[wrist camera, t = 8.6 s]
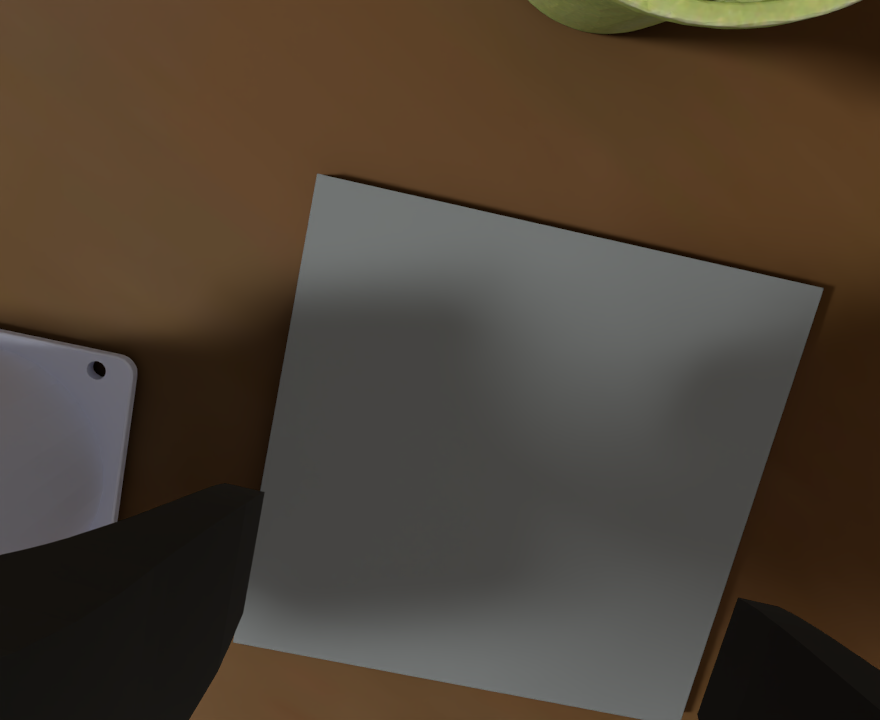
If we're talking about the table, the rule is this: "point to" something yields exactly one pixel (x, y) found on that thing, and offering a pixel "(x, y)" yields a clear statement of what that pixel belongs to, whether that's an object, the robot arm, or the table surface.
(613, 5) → the plant pot
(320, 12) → the table surface
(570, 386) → the mat
